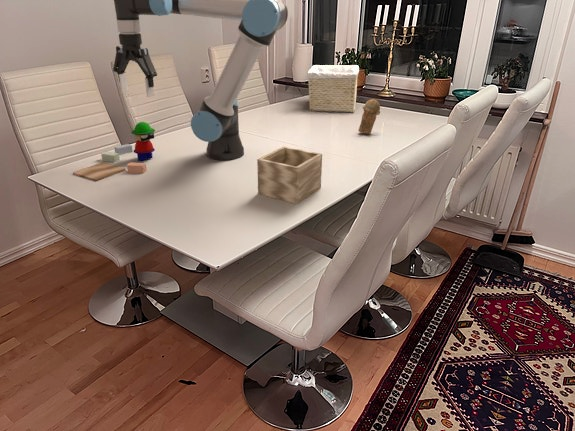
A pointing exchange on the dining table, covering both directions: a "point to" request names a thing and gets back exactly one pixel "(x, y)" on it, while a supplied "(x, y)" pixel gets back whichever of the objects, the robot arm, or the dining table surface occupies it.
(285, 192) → the birch crate
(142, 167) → the terracotta brick
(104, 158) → the sage brick
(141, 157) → the toy
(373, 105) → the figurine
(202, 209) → the dining table surface
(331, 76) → the basket
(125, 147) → the slate brick
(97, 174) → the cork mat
